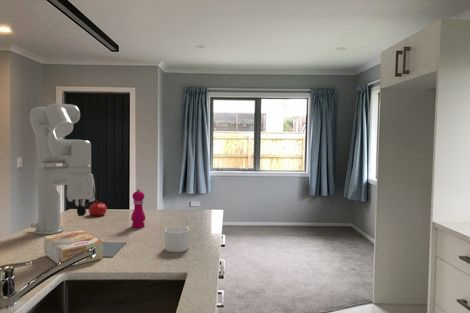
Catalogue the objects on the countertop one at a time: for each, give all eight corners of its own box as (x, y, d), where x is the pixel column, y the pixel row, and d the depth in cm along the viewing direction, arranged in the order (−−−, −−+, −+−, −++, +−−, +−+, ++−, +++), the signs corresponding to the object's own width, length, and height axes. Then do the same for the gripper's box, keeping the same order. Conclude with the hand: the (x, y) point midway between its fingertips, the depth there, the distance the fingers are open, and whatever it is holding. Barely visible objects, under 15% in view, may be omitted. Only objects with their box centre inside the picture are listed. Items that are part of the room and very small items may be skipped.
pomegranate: (103, 217, 212) (103, 201, 212) (85, 217, 213) (85, 201, 212) (109, 213, 222) (109, 198, 222) (92, 213, 222) (92, 198, 222)
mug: (178, 254, 148) (178, 234, 148) (159, 249, 154) (159, 230, 153) (199, 246, 160) (199, 227, 159) (180, 242, 165) (180, 224, 165)
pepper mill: (132, 228, 187) (132, 189, 186) (129, 225, 194) (129, 187, 193) (147, 227, 191) (147, 188, 190) (143, 224, 197) (143, 187, 196)
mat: (60, 257, 142) (60, 256, 142) (79, 242, 161) (79, 242, 161) (112, 257, 143) (112, 256, 143) (126, 243, 162) (126, 242, 162)
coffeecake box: (82, 229, 154) (103, 240, 140) (82, 245, 154) (103, 259, 141) (43, 235, 143) (62, 249, 129) (43, 253, 144) (62, 269, 130)
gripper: (58, 171, 146) (58, 217, 147) (96, 171, 147) (96, 217, 147) (66, 169, 154) (67, 213, 155) (102, 170, 154) (103, 213, 155)
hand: (81, 215), depth 151 cm, fingers closed
